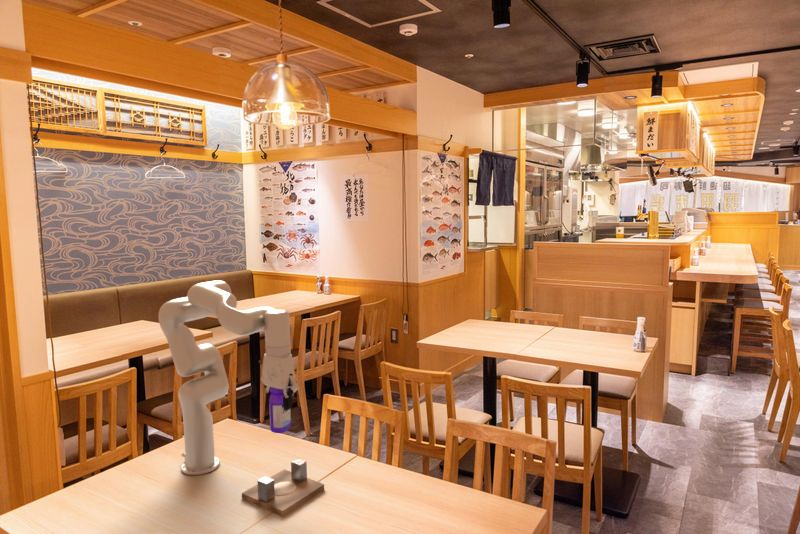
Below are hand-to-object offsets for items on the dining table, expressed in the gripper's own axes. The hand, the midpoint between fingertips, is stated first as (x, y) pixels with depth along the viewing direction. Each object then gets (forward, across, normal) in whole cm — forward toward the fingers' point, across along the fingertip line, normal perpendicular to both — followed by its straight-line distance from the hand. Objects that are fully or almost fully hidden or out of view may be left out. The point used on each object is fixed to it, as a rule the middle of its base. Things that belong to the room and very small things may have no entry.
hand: (280, 406), depth 167 cm
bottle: (+8, 0, 0) cm, 8 cm away
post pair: (+27, 0, 0) cm, 27 cm away
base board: (+29, 0, 0) cm, 29 cm away
